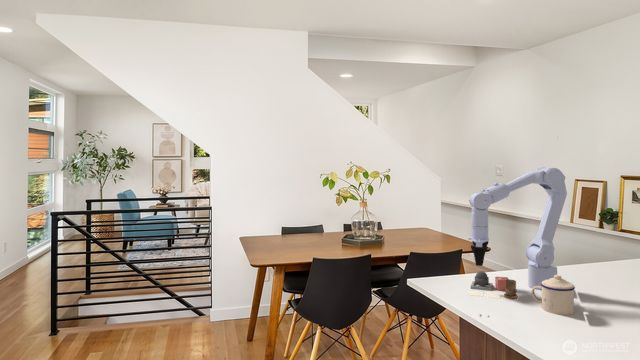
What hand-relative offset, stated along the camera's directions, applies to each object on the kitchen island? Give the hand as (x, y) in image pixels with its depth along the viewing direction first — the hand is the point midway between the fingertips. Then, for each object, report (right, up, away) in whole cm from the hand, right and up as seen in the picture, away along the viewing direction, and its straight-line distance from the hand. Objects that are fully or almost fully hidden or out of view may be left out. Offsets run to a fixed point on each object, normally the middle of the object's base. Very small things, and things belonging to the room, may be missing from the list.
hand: (479, 263), depth 156 cm
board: (+2, -10, -5) cm, 12 cm away
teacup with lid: (+14, -11, -23) cm, 29 cm away
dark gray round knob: (+1, -8, +1) cm, 8 cm away
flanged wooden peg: (+6, -9, -11) cm, 16 cm away
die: (+7, -9, -2) cm, 12 cm away
